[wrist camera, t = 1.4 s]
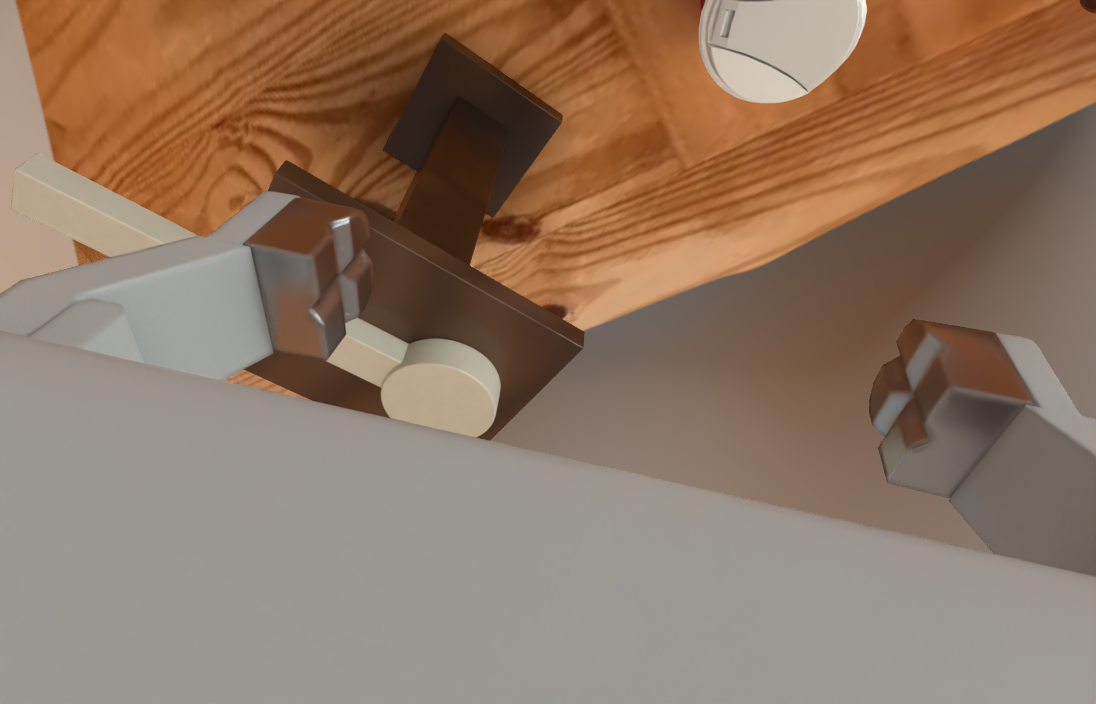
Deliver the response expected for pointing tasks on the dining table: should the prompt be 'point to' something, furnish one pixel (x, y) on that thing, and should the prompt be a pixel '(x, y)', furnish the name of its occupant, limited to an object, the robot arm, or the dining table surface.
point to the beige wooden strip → (366, 351)
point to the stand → (445, 238)
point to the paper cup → (777, 44)
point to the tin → (1089, 5)
